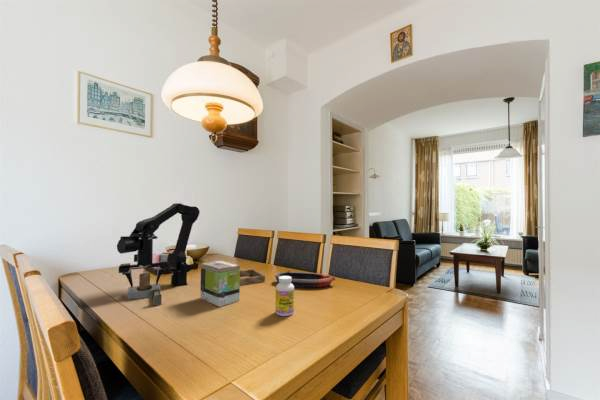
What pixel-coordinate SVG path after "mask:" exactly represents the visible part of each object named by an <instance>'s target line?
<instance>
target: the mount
mask: <svg viewBox="0 0 600 400" xmlns="http://www.w3.org/2000/svg"><path fill="white" fill-rule="evenodd" d="M156 291H159V295H161V293H162V291H161V284H160V283H159V282H158V284H157V285H156V283H153V284H152V283H150V289H146V290H139V285H136V286H133V288H131V286H130V287H129V286H128V290H127V301H132V300H133V301H134V300H138V299H139V300H140V298H141V299H146V298H147V297H148V298H153V296H154V292H156Z"/></svg>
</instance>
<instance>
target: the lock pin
mask: <svg viewBox="0 0 600 400" xmlns="http://www.w3.org/2000/svg"><path fill="white" fill-rule="evenodd" d="M152 298H153V299H152V304H153V306H157V305H162V298H163V297H162V294H160V295H159V290H155V291H153V297H152Z"/></svg>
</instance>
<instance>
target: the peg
mask: <svg viewBox="0 0 600 400" xmlns="http://www.w3.org/2000/svg"><path fill="white" fill-rule="evenodd" d="M138 277H139V281H138V283H139V285H138V286H139V290H146V289H150V285H151V272H143V273H140V274H139V276H138Z"/></svg>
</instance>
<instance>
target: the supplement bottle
mask: <svg viewBox="0 0 600 400" xmlns="http://www.w3.org/2000/svg"><path fill="white" fill-rule="evenodd" d="M291 281H292V278H291V277H290V276H280V277H279V282H278V283H277V284H276V285H275V314H277V316H280V317H289V316H291V315H293V314H294V311H295V287H294V285H293V284H291Z"/></svg>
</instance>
